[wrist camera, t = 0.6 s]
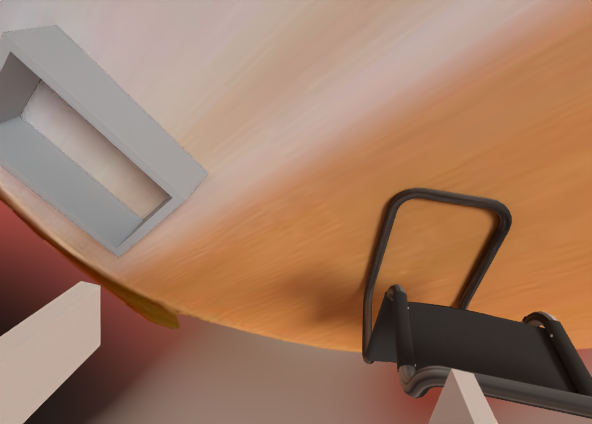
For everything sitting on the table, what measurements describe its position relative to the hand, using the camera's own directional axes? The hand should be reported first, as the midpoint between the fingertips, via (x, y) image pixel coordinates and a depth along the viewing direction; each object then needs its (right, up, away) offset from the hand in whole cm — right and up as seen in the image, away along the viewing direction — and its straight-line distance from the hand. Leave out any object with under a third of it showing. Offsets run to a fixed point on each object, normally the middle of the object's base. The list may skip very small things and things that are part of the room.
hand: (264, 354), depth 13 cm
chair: (+17, 0, +28) cm, 33 cm away
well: (-21, +13, +27) cm, 37 cm away
